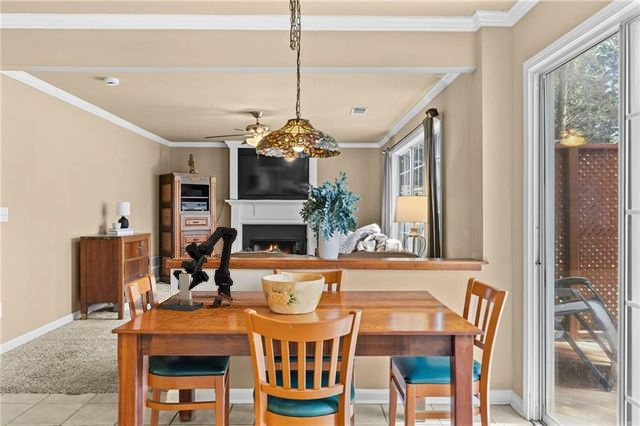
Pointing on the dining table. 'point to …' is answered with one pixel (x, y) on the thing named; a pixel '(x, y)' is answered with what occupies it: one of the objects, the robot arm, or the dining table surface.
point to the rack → (183, 306)
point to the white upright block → (185, 286)
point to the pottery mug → (219, 300)
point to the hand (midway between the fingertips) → (183, 289)
